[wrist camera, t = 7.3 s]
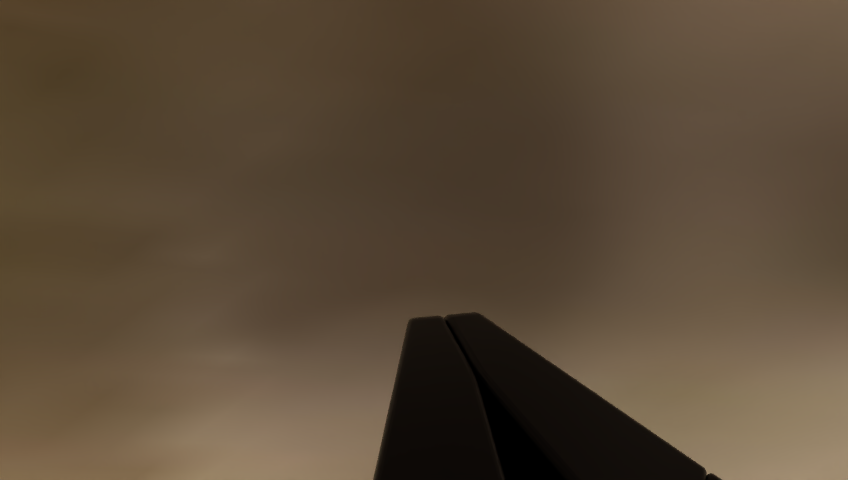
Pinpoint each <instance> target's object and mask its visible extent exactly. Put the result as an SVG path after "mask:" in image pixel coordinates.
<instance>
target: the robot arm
mask: <svg viewBox="0 0 848 480" xmlns="http://www.w3.org/2000/svg"><path fill="white" fill-rule="evenodd" d="M373 480H722V479H720V478H719V477H717V476H716V475H714V474H712V473H710V474H708V475H707V476H706V470H705V468H704V467H702V466H701V465H699V464H698V463H696V462H695V461H693V460H692V459H691V458H689V457H688V456H686V455H685V454H683V453H682V452H680V451H679V450H677V449H676V448H675V447H673V446H672V445H670V444H669V443H667V442H666V441H664V440H663V439H661V438H660V437H659V436H657V435H656V434H654V433H653V432H651V431H650V430H648V429H647V428H645V427H644V426H643V425H641V424H640V423H638V422H637V421H635V420H634V419H632V418H631V417H629V416H628V415H627V414H625V413H624V412H622V411H621V410H619V409H618V408H616V407H615V406H613V405H612V404H611V403H609V402H608V401H606V400H605V399H603V398H602V397H600V396H599V395H597V394H596V393H595V392H593V391H592V390H590V389H589V388H587V387H586V386H584V385H583V384H581V383H580V382H579V381H577V380H576V379H574V378H573V377H571V376H570V375H568V374H567V373H565V372H564V371H563V370H561V369H560V368H558V367H557V366H555V365H554V364H552V363H551V362H549V361H548V360H547V359H545V358H544V357H542V356H541V355H539V354H538V353H536V352H535V351H533V350H532V349H531V348H529V347H528V346H526V345H525V344H523V343H522V342H520V341H519V340H517V339H516V338H515V337H513V336H512V335H510V334H509V333H507V332H506V331H504V330H503V329H501V328H500V327H499V326H497V325H496V324H494V323H493V322H491V321H490V320H488V319H487V318H485V317H484V316H483V315H481V314H479V313H476V312H472V313H462V314H451V315H447V316H446V317H445V318H443V317H441V316H429V317H418V318H412V319H410V320H409V321H408V324H407V329H406V333H405V338H404V342H403V347H402V351H401V356H400V360H399V365H398V369H397V374H396V378H395V383H394V388H393V392H392V397H391V401H390V406H389V410H388V415H387V419H386V424H385V428H384V433H383V437H382V442H381V447H380V451H379V456H378V460H377V465H376V469H375V474H374V478H373Z"/></svg>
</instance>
